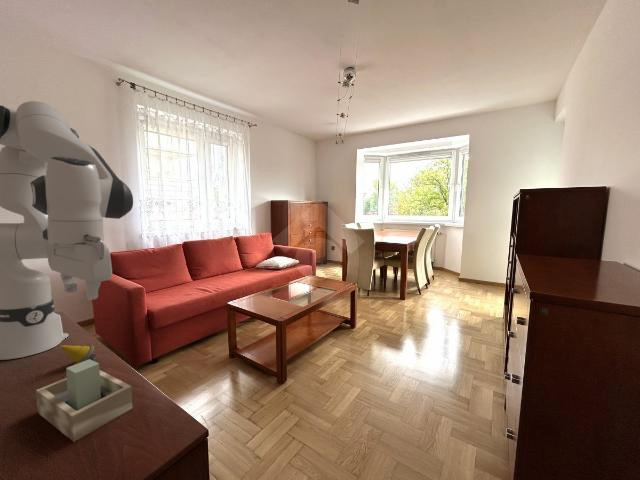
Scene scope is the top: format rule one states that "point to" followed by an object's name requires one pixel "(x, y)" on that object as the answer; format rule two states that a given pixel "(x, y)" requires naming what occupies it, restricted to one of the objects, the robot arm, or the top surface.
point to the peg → (83, 384)
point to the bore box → (90, 417)
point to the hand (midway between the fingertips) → (81, 295)
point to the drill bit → (79, 352)
